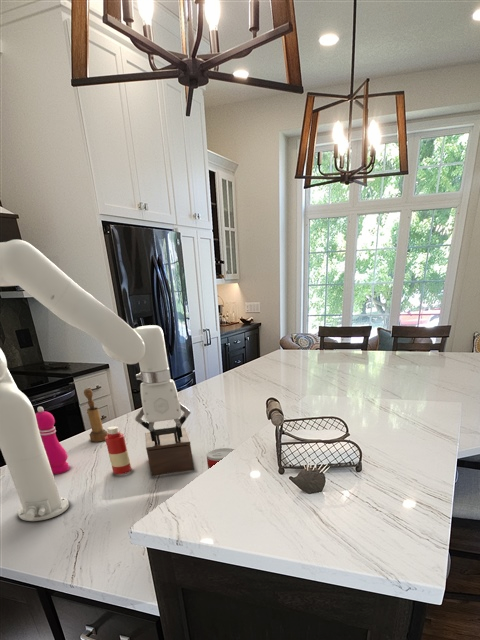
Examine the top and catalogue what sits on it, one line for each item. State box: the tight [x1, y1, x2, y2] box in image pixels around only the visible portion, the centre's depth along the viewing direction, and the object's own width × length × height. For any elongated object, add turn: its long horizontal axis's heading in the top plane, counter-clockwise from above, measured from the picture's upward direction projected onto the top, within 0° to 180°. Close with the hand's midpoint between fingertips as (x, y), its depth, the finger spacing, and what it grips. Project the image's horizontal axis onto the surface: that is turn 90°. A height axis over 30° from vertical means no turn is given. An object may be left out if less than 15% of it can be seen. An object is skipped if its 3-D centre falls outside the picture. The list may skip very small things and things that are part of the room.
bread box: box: [146, 443, 195, 477], centre depth 145 cm, size 15×13×8 cm
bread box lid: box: [144, 426, 191, 451], centre depth 141 cm, size 16×13×5 cm
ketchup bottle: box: [104, 425, 132, 475], centre depth 141 cm, size 6×6×14 cm
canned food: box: [206, 447, 235, 470], centre depth 125 cm, size 8×8×11 cm
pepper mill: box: [35, 406, 70, 475], centre depth 145 cm, size 7×7×20 cm
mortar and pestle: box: [83, 388, 108, 443], centre depth 170 cm, size 7×6×18 cm
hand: (167, 441), depth 137 cm, fingers closed on bread box lid, 6 cm apart
